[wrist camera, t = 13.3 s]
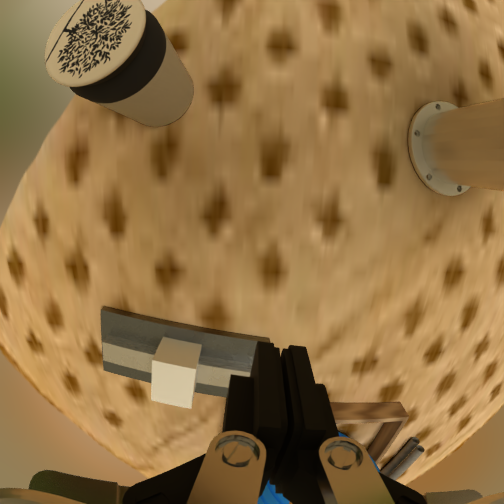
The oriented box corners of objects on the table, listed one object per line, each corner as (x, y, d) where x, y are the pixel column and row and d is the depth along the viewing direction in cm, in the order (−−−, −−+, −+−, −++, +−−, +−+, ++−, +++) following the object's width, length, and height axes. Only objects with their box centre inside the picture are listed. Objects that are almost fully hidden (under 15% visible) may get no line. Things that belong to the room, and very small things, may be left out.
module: (202, 344, 37) (196, 369, 32) (196, 382, 38) (191, 408, 33) (162, 336, 36) (152, 359, 31) (160, 375, 38) (151, 400, 33)
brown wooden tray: (400, 402, 42) (409, 416, 38) (335, 497, 50) (339, 510, 46) (234, 394, 40) (234, 412, 36) (211, 494, 48) (210, 509, 44)
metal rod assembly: (408, 436, 45) (418, 452, 40) (418, 436, 45) (427, 452, 41) (341, 502, 51) (345, 517, 46) (351, 502, 51) (355, 517, 46)
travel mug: (208, 82, 30) (174, 3, 13) (167, 139, 32) (94, 108, 14) (154, 54, 29) (90, -23, 12) (116, 108, 31) (23, 68, 13)
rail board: (269, 338, 38) (271, 351, 35) (254, 395, 40) (255, 410, 37) (104, 306, 37) (94, 316, 33) (106, 365, 39) (98, 378, 36)
